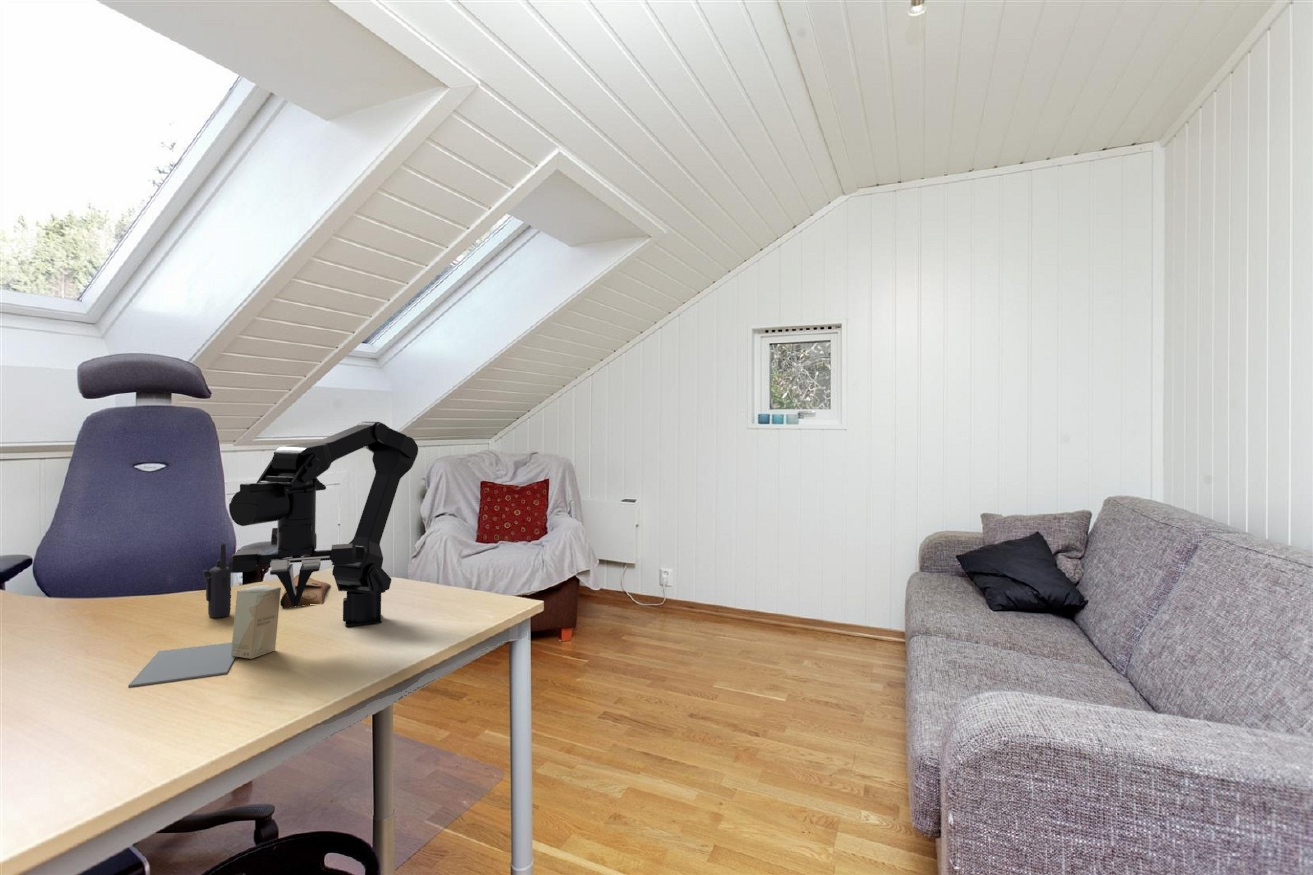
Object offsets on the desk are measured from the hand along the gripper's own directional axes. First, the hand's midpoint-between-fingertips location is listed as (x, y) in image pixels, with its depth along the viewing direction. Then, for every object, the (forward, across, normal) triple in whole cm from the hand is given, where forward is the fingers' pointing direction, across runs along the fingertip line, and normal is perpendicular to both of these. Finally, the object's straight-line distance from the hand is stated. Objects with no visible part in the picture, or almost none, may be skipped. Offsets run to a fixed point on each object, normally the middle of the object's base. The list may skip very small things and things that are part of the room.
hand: (295, 606), depth 104 cm
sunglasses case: (+8, 0, -37) cm, 38 cm away
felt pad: (+8, +14, 0) cm, 16 cm away
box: (+8, +6, 0) cm, 10 cm away
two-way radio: (+8, +16, -27) cm, 32 cm away
